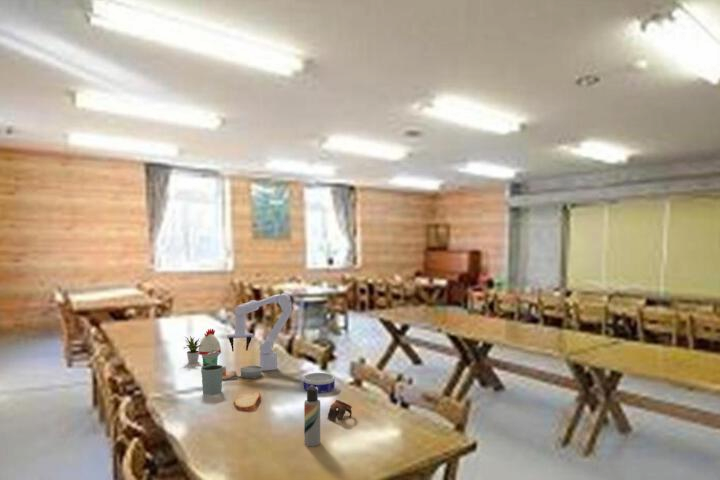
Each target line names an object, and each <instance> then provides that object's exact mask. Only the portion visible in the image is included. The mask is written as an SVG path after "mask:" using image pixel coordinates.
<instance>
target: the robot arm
mask: <svg viewBox="0 0 720 480" xmlns="http://www.w3.org/2000/svg"><path fill="white" fill-rule="evenodd" d="M292 301H293V300H292V298H291V296H290V294H289V293H287V292H283V293H278V294H275V295H271V296H268V297H266V298H264V299H261V300H255V299H254V300H253V299H252V300H251V299H250V300H249V302H245V303H244V302H243V303H241V304H239V305H238V306H236V307H235V308H234V311H233V312H234V314H235V315H234V316H235V318H234V333H229V334H226V339H228V341H229V343H230V347H231V350H232V352H234V350H235V349H234V342H235V341H234V339H241V338H243V339H244V338H246V339H245V340H246V341H245V342H246V343H245V344H246V345H245V351H248V350H249V346H250V343H251V341H252V338H254V333H246V320H247V319H246V314H250V313H253V312H255V311H258V310H259V308H260V307H262V306H266V305H270V304H276V305H277V304H278V305H279V306H280V309H281V311H282V313H281V314H280V315H279V318H278V319H277V321H276V322H275V324H274V326H273V328H272V329H271V331H270V332H269V334H268V336H267V337H266V339H265V340H264V341H263V342H262V343H261V344H260V346H259V351H260V352H259V366H260V367H262V372H264V371H275V370H278V355H277V352H274V350H273V348H274V343H275V341H276V340H277V338H278V337H279V335H280V332H281V331H282V330H283V327H284V326H285V324H286V323H287V321H288V320H289V317H290V316H291V315H292V312H293V310H292V309H293V308H292Z"/></svg>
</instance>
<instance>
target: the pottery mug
mask: <svg viewBox="0 0 720 480" xmlns="http://www.w3.org/2000/svg"><path fill="white" fill-rule="evenodd" d="M329 407H330V408H329V410H328V413H327V419H329V420H330V421H332V422H333V423H335V422H336V420H337V421H342V420H343V419H344V417H345V414H346V412H347V413H349V418H351V417H352V413H353V412H352V408H353V406H352V405H350V404H349V403H346V402H345V401H342V400H340V399H335V401H334V402H333V403H331V405H330V406H329Z"/></svg>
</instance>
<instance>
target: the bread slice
mask: <svg viewBox="0 0 720 480" xmlns="http://www.w3.org/2000/svg"><path fill="white" fill-rule="evenodd" d="M261 399H262V397H261V393H260V392H259V391H256V392H252V393H245V392H244V393H243V392H240V393H239V394H238V395H236V396H235V398H234V399H233V407H234V408H235V410H237V411H240V412H245V413H247V412H248V413H249V412H254V411H255V410H256V409H257V408H258V406H259V404H260V403H261Z"/></svg>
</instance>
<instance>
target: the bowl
mask: <svg viewBox="0 0 720 480" xmlns="http://www.w3.org/2000/svg"><path fill="white" fill-rule="evenodd" d="M261 376H263V371H262V367H260V365H247V366H243V367H241V368H240V377H241V378H244V379H256V378H259V377H261Z"/></svg>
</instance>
